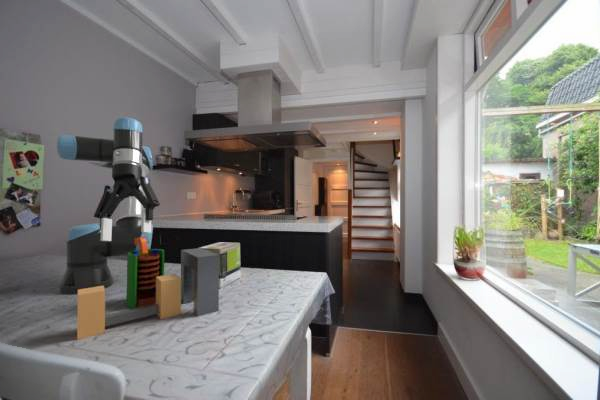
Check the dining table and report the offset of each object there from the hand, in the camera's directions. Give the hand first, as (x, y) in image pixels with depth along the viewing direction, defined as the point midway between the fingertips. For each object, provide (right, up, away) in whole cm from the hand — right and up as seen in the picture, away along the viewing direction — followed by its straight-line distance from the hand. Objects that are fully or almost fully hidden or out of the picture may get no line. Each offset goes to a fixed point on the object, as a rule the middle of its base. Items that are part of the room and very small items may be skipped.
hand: (125, 237), depth 75 cm
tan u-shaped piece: (+5, -21, -6) cm, 23 cm away
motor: (0, -22, +8) cm, 23 cm away
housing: (+18, -21, +5) cm, 29 cm away
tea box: (+18, -22, +30) cm, 41 cm away
